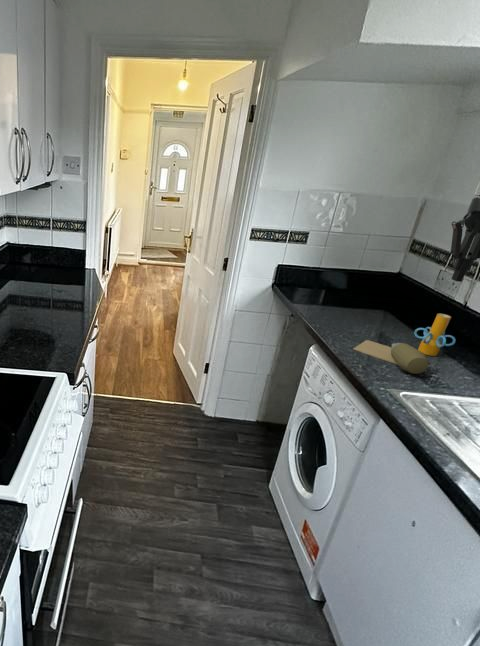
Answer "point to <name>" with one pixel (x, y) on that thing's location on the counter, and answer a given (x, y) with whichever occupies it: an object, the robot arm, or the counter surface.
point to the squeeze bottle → (409, 358)
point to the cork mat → (376, 350)
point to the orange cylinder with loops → (435, 336)
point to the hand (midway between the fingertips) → (456, 280)
